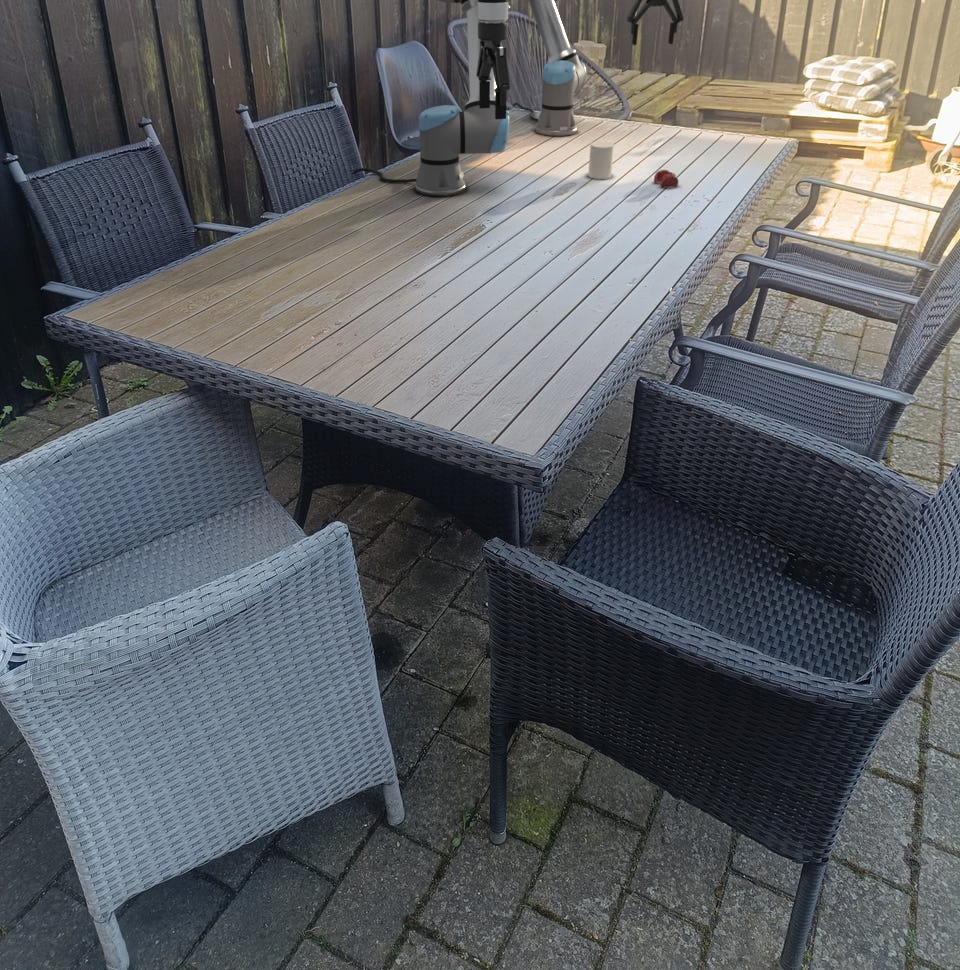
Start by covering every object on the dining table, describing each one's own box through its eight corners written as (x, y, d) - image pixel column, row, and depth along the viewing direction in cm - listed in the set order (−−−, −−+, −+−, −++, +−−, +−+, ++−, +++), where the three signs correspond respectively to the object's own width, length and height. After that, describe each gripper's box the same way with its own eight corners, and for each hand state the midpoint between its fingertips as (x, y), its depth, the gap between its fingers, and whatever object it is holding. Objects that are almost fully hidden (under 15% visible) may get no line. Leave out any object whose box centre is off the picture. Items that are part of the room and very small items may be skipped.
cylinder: (595, 180, 267) (597, 148, 261) (584, 174, 272) (586, 142, 266) (615, 177, 269) (618, 146, 263) (604, 172, 274) (606, 140, 269)
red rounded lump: (669, 166, 264) (680, 173, 258) (668, 179, 266) (679, 187, 260) (653, 168, 263) (663, 175, 257) (652, 181, 265) (662, 189, 259)
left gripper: (524, 27, 199) (521, 122, 211) (492, 14, 218) (491, 102, 231) (494, 28, 197) (493, 124, 209) (464, 15, 217) (465, 104, 229)
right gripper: (628, -24, 286) (622, 46, 298) (698, -25, 289) (689, 44, 301) (621, -26, 292) (615, 43, 304) (690, -27, 295) (681, 41, 308)
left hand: (492, 113), depth 220 cm, fingers open, 13 cm apart
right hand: (652, 44), depth 303 cm, fingers open, 13 cm apart
